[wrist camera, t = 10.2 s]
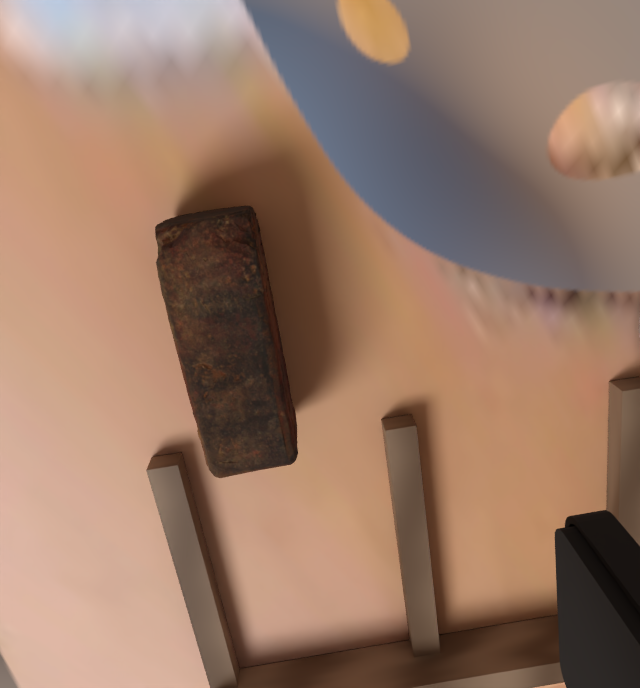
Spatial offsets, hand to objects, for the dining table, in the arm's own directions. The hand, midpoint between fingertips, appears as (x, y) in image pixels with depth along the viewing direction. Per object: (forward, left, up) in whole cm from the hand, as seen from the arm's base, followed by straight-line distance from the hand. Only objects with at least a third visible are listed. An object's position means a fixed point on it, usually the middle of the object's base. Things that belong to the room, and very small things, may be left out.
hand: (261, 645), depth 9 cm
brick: (+2, +1, -19) cm, 19 cm away
